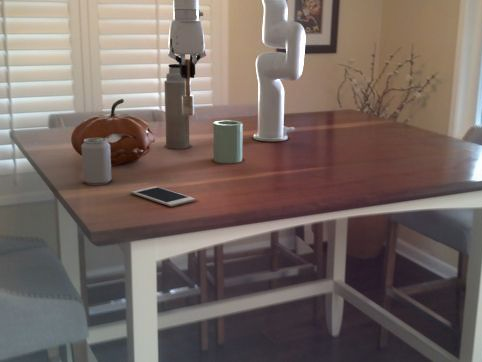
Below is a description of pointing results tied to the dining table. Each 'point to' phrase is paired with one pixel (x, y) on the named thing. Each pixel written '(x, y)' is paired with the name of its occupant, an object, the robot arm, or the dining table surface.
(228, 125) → the sage green cup
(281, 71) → the robot arm
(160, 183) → the dining table surface
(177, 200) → the cell phone
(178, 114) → the thermos bottle
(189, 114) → the brush
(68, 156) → the dining table surface
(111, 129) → the pumpkin
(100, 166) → the can
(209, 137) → the dining table surface
